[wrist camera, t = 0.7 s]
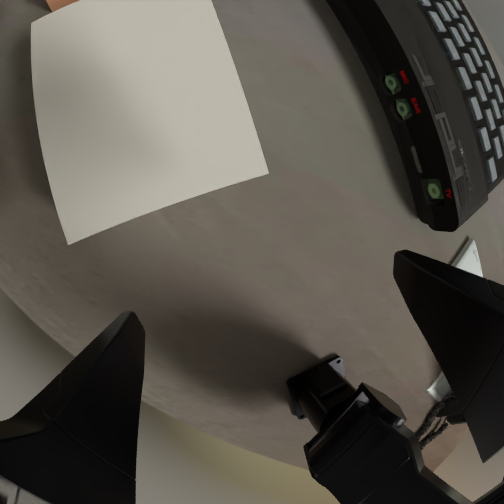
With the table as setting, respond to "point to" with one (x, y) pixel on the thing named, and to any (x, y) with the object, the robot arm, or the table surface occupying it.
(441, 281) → the robot arm
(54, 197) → the slab
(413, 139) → the computer keyboard
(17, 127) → the table surface
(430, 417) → the office phone
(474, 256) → the hard drive
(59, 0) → the block
